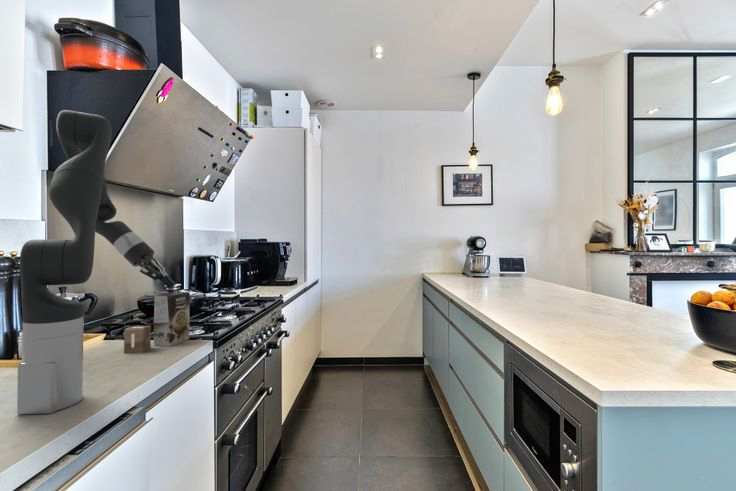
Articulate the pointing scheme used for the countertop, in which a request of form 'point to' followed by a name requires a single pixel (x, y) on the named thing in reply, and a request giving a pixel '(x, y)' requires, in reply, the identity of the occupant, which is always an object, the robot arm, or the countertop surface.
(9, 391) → the countertop surface
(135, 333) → the numbered block
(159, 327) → the coffee box
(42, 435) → the countertop surface
